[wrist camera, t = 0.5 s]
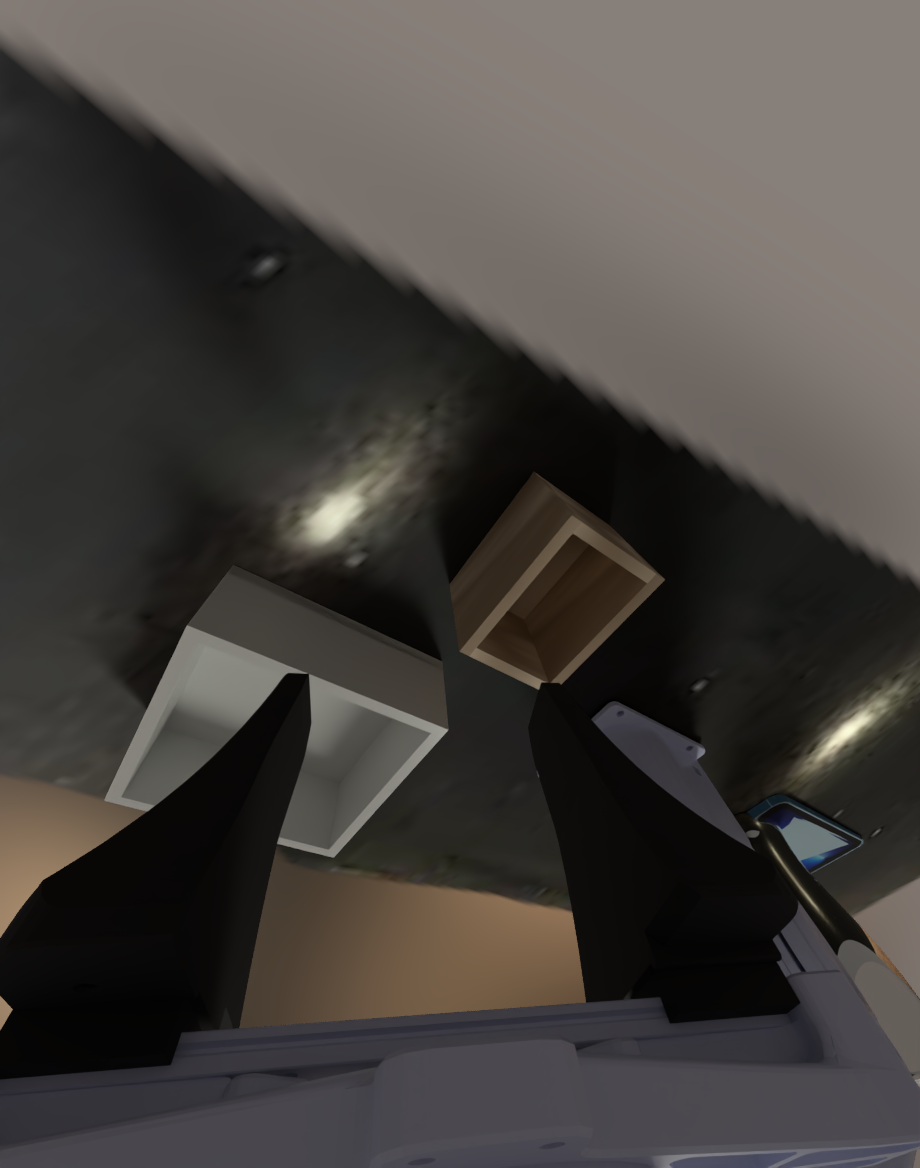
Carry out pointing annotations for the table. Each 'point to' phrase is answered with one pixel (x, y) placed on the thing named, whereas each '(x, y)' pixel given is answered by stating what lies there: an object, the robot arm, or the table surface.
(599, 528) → the wood crate
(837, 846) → the smartphone
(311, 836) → the storage crate
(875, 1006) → the beer glass
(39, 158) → the table surface
